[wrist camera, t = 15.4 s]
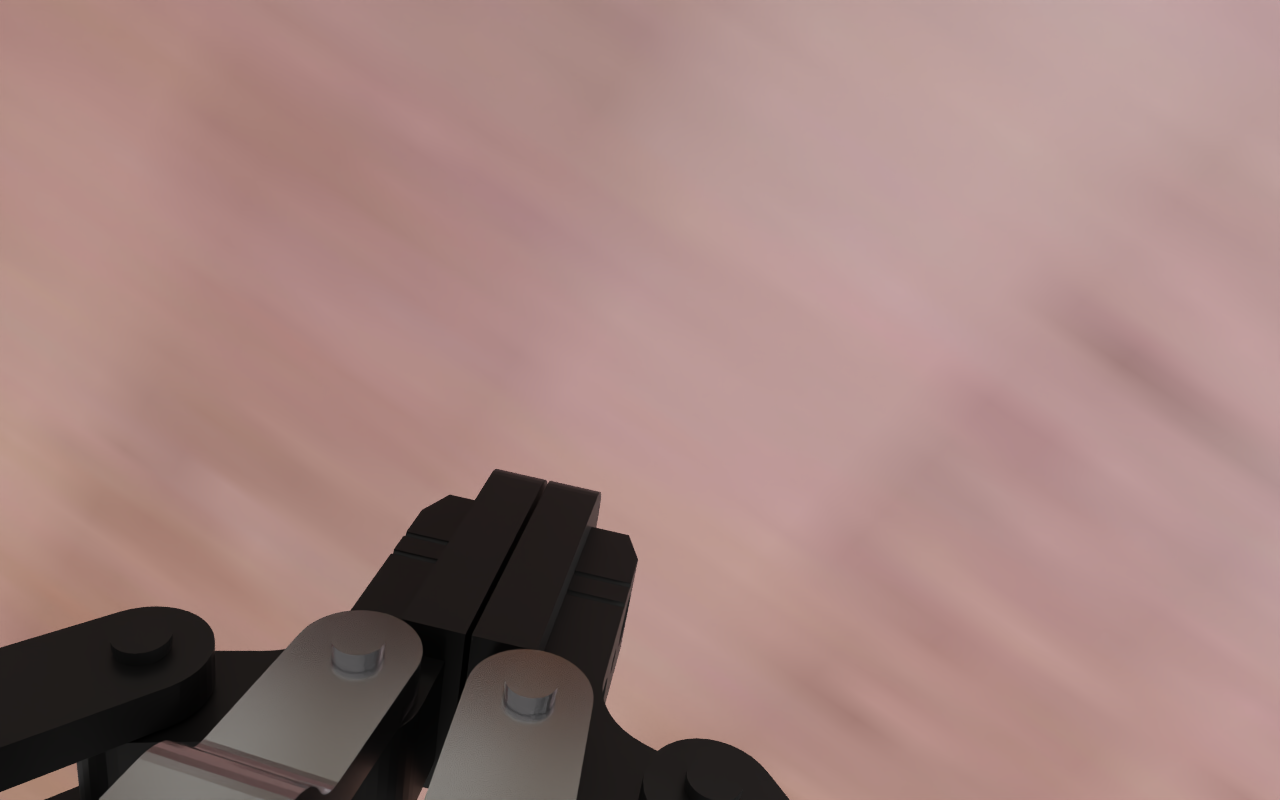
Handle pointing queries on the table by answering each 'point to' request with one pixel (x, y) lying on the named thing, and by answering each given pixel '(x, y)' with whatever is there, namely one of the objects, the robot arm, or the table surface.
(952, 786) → the table surface
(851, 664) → the table surface
